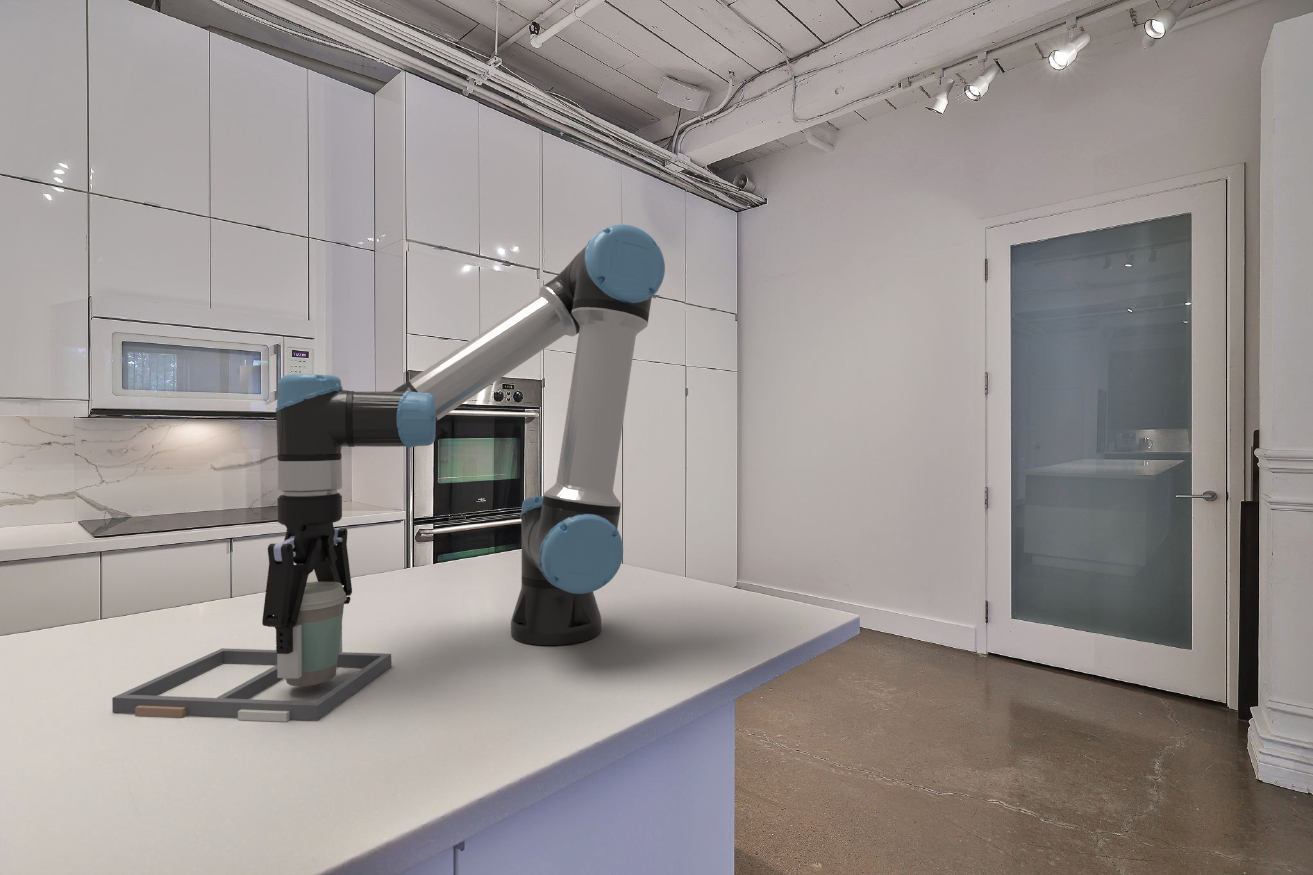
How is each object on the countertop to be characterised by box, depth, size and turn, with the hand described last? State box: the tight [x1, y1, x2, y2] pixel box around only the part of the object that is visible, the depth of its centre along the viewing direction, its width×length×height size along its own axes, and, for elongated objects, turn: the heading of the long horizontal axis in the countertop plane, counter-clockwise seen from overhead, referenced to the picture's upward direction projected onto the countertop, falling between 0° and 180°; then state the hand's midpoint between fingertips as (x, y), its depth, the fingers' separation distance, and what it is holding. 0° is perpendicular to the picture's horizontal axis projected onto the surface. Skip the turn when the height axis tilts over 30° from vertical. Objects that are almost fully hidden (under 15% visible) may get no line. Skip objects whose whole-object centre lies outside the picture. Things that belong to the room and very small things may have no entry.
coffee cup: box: [285, 580, 347, 687], centre depth 87 cm, size 8×8×12 cm
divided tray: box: [111, 648, 392, 723], centre depth 88 cm, size 26×19×2 cm
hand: (311, 663), depth 87 cm, fingers closed on coffee cup, 8 cm apart
